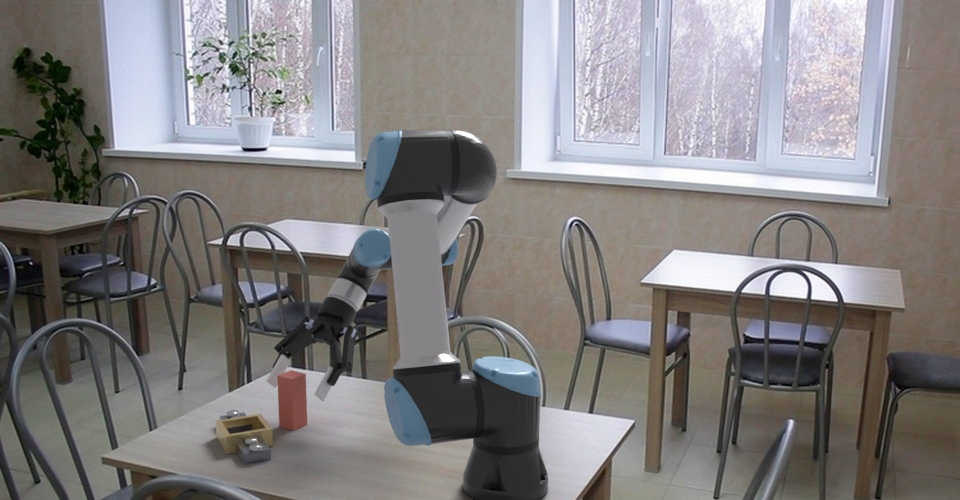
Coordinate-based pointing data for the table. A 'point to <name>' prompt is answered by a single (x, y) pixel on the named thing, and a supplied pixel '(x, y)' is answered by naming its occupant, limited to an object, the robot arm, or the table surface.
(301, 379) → the link pin
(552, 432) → the table surface
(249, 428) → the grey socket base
